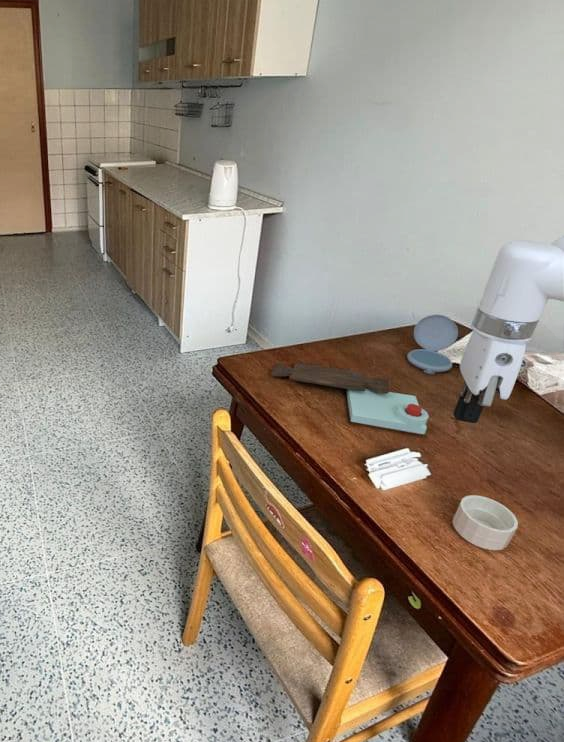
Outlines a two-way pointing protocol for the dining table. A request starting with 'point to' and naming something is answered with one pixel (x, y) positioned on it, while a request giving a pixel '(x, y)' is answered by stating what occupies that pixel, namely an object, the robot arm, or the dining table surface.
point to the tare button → (413, 410)
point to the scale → (385, 410)
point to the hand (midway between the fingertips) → (464, 418)
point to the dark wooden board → (331, 377)
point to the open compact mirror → (433, 343)
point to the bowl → (484, 522)
